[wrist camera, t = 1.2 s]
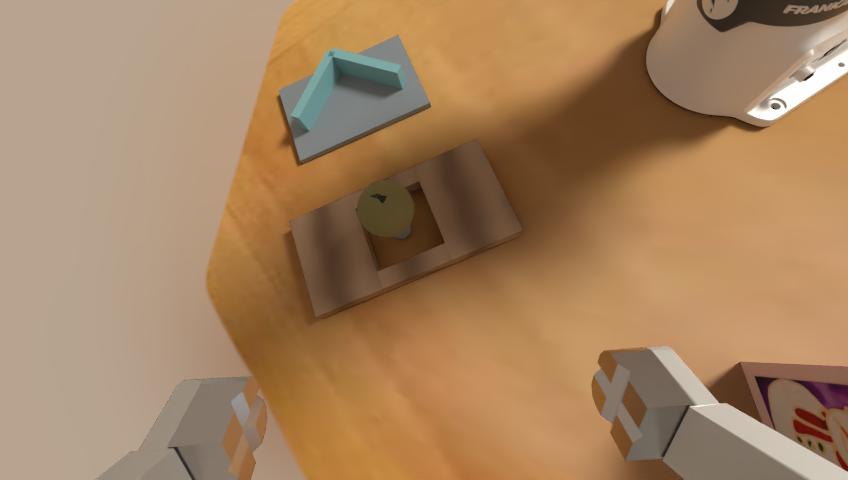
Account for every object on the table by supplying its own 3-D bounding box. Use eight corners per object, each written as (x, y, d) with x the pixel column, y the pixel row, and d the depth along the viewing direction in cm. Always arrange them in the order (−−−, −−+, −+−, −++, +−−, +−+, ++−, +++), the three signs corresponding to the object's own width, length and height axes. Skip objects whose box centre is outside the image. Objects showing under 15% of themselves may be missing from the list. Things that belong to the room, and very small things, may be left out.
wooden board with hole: (478, 147, 45) (477, 138, 43) (521, 235, 41) (523, 229, 40) (297, 226, 47) (288, 221, 45) (323, 318, 43) (315, 317, 41)
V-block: (399, 39, 52) (392, 16, 48) (430, 106, 48) (425, 86, 44) (281, 93, 53) (266, 75, 49) (303, 163, 49) (287, 149, 46)
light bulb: (426, 206, 44) (408, 168, 35) (426, 253, 43) (406, 225, 33) (380, 209, 45) (350, 172, 36) (378, 254, 44) (346, 228, 34)
